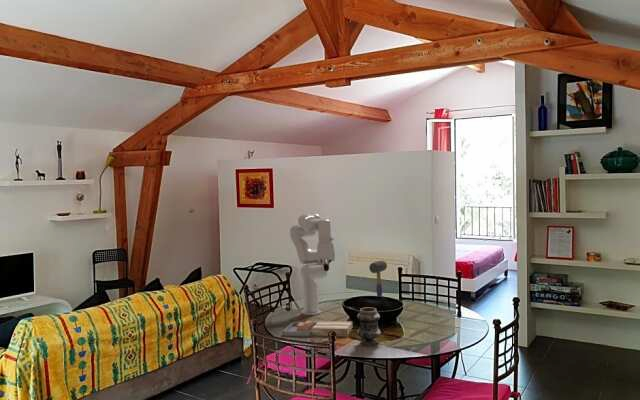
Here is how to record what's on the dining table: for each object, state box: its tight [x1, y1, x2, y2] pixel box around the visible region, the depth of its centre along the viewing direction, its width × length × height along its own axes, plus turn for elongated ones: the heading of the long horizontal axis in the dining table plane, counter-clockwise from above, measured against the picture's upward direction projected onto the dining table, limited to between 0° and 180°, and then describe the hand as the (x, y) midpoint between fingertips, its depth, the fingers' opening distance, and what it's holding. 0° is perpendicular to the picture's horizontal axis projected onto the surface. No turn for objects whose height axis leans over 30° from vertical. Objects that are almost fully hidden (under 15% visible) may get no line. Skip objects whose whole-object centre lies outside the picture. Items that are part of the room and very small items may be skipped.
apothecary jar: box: [356, 306, 382, 347], centre depth 263 cm, size 12×12×18 cm
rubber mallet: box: [368, 260, 388, 298], centre depth 341 cm, size 12×8×30 cm, turn 141°
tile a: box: [297, 323, 304, 331], centre depth 294 cm, size 6×6×3 cm
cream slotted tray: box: [311, 320, 354, 337], centre depth 287 cm, size 15×20×4 cm
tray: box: [282, 321, 318, 338], centre depth 291 cm, size 19×16×2 cm
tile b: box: [303, 319, 314, 332], centre depth 287 cm, size 6×6×3 cm
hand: (326, 270), depth 303 cm, fingers closed
